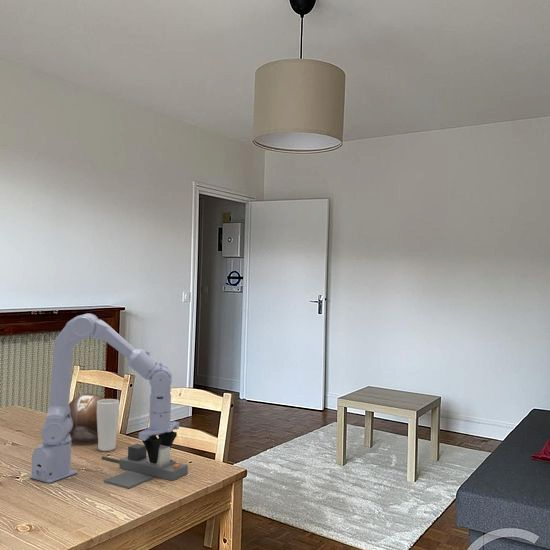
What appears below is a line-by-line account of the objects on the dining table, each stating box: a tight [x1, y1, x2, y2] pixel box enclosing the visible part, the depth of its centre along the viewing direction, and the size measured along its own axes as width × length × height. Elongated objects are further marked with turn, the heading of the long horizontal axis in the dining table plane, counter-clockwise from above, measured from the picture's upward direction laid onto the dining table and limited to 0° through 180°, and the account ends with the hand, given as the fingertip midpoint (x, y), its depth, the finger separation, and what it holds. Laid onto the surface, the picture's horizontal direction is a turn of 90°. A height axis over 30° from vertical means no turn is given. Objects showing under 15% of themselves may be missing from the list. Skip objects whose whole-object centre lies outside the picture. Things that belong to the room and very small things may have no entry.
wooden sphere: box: [69, 393, 105, 442], centre depth 183 cm, size 15×15×15 cm
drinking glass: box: [97, 398, 120, 452], centre depth 174 cm, size 7×7×15 cm
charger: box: [147, 445, 171, 466], centre depth 154 cm, size 4×4×4 cm
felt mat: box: [103, 470, 154, 490], centre depth 147 cm, size 9×9×1 cm
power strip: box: [101, 443, 189, 482], centre depth 157 cm, size 6×29×6 cm, turn 61°
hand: (158, 460), depth 154 cm, fingers closed on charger, 4 cm apart
